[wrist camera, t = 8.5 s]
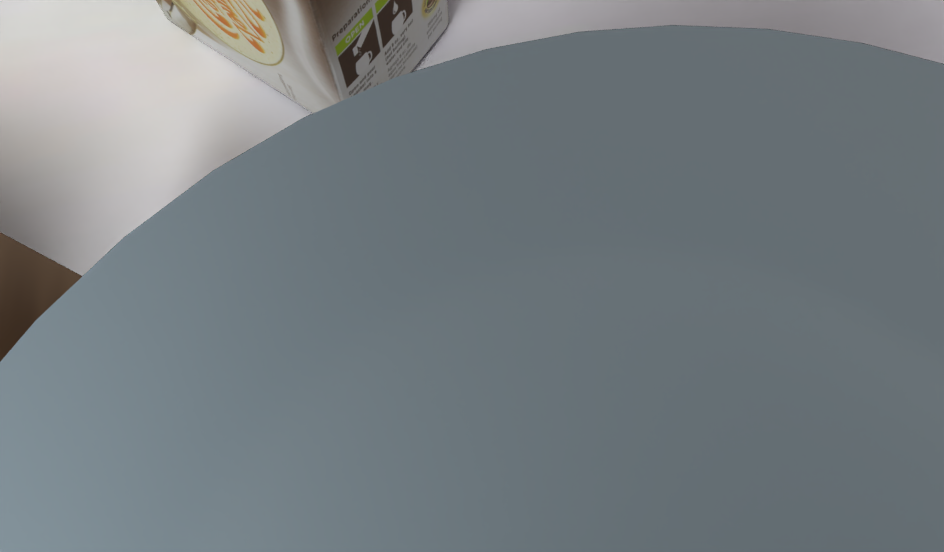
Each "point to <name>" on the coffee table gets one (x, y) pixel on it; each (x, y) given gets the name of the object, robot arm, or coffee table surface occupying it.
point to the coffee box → (315, 41)
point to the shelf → (27, 289)
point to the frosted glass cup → (520, 319)
